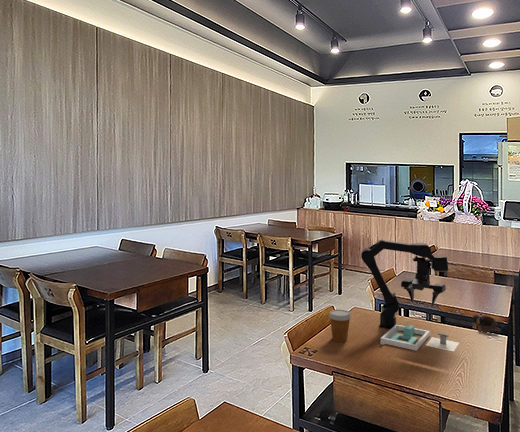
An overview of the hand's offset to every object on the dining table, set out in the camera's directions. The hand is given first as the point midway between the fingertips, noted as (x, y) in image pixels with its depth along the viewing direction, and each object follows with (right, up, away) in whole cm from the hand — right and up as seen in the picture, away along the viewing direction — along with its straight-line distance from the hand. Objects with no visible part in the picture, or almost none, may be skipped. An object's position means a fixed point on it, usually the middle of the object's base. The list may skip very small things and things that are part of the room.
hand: (422, 303), depth 203 cm
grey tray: (-12, -14, -13) cm, 22 cm away
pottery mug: (+28, -12, -1) cm, 31 cm away
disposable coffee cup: (-40, -14, -10) cm, 44 cm away
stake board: (+1, -14, -19) cm, 24 cm away
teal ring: (-12, -13, -13) cm, 22 cm away
